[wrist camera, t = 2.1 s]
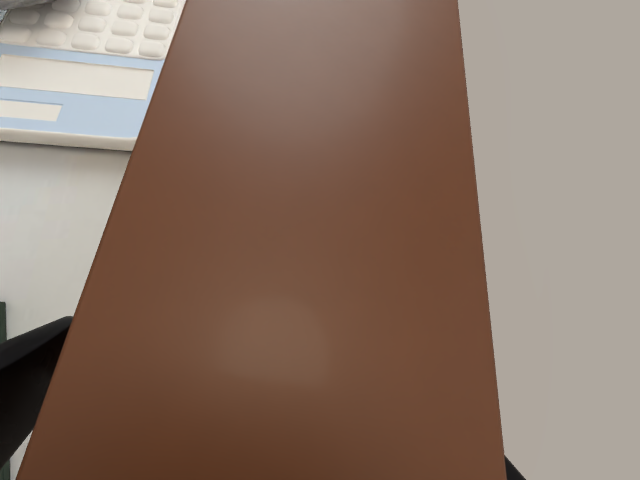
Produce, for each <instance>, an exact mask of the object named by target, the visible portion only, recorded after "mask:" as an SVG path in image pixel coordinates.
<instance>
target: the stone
mask: <svg viewBox="0 0 640 480" xmlns="http://www.w3.org/2000/svg"><path fill="white" fill-rule="evenodd" d="M54 1H56V0H0V10H6V9H13V8H19V7H26V6H31V5H35V4H45V3H51V2H54Z"/></svg>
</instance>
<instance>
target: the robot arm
mask: <svg viewBox="0 0 640 480" xmlns="http://www.w3.org/2000/svg"><path fill="white" fill-rule="evenodd" d="M72 319H73V316H66V317H63V318H61V319H58V320H56V321H53V322H51V323H48V324H46V325H44V326H41V327H39V328H36V329H34V330H31V331H29V332H26V333H24V334H22V335H19V336H17V337H14V338H12V339H9V340H7V341H4V342H2V343H0V470H1V469H2V467H3V466H4V465H5V464H6V462H7V461H8V460H9V459H10V457H11V456H12V455H13V454H14V452H15V451H16V450H17V449H18V447H19V446H20V445H21V444H22V442H23V441H24V440H25V439H26V437H27V436H28V435H29V434H30V432H31V431H32V430H33V429H34V426H35V423H36V421H37V418H38V415H39V412H40V409H41V407H42V404H43V401H44V398H45V395H46V393H47V390H48V387H49V384H50V381H51V379H52V376H53V373H54V370H55V367H56V364H57V362H58V359H59V356H60V353H61V350H62V348H63V345H64V342H65V339H66V336H67V334H68V331H69V328H70V325H71V322H72ZM504 458H505V467H506V477H507V480H526V479H525V478H524V477H523V476H522V475H521V473H520V472H519V471H518V470H517V469H516V468H515V467H514V465H512V463H511V462H510V461H509V460H508V459H507V457H506V456H505V455H504Z"/></svg>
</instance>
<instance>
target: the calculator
mask: <svg viewBox="0 0 640 480" xmlns="http://www.w3.org/2000/svg"><path fill="white" fill-rule="evenodd" d="M185 2H186V0H56V1H54V2H51V3H45V4H35V5H31V6H26V7H19V8H13V9H8V10H7V12H6V14H5V16H4V17H3V19H2V21H1V23H0V141H10V142H23V143H35V144H48V145H61V146H73V147H86V148H99V149H111V150H124V151H133V148H134V145H135V142H136V140H137V137H138V134H139V131H140V128H141V126H142V123H143V120H144V117H145V114H146V111H147V109H148V106H149V103H150V100H151V97H152V95H153V92H154V89H155V86H156V83H157V81H158V78H159V75H160V72H161V69H162V66H163V64H164V61H165V58H166V55H167V52H168V50H169V47H170V44H171V41H172V38H173V36H174V33H175V30H176V27H177V24H178V22H179V19H180V16H181V13H182V10H183V7H184V5H185Z"/></svg>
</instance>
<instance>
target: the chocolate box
mask: <svg viewBox="0 0 640 480" xmlns="http://www.w3.org/2000/svg"><path fill="white" fill-rule="evenodd" d="M16 480H507V477H506V467H505V458H504V448H503V439H502V428H501V419H500V409H499V399H498V389H497V380H496V370H495V360H494V350H493V342H492V331H491V321H490V312H489V302H488V292H487V282H486V272H485V263H484V253H483V244H482V233H481V224H480V214H479V204H478V195H477V185H476V175H475V165H474V156H473V146H472V136H471V127H470V117H469V107H468V97H467V87H466V78H465V68H464V58H463V48H462V39H461V29H460V19H459V9H458V0H186V2H185V5H184V7H183V10H182V13H181V16H180V19H179V22H178V24H177V27H176V30H175V33H174V36H173V38H172V41H171V44H170V47H169V50H168V52H167V55H166V58H165V61H164V64H163V66H162V69H161V72H160V75H159V78H158V81H157V83H156V86H155V89H154V92H153V95H152V97H151V100H150V103H149V106H148V109H147V111H146V114H145V117H144V120H143V123H142V126H141V128H140V131H139V134H138V137H137V140H136V142H135V145H134V148H133V151H132V154H131V156H130V159H129V162H128V165H127V168H126V170H125V173H124V176H123V179H122V182H121V185H120V187H119V190H118V193H117V196H116V199H115V201H114V204H113V207H112V210H111V213H110V215H109V218H108V221H107V224H106V227H105V230H104V232H103V235H102V238H101V241H100V244H99V246H98V249H97V252H96V255H95V258H94V260H93V263H92V266H91V269H90V272H89V275H88V277H87V280H86V283H85V286H84V289H83V291H82V294H81V297H80V300H79V303H78V305H77V308H76V311H75V314H74V317H73V319H72V322H71V325H70V328H69V331H68V334H67V336H66V339H65V342H64V345H63V348H62V350H61V353H60V356H59V359H58V362H57V364H56V367H55V370H54V373H53V376H52V379H51V381H50V384H49V387H48V390H47V393H46V395H45V398H44V401H43V404H42V407H41V409H40V412H39V415H38V418H37V421H36V423H35V426H34V429H33V432H32V435H31V438H30V440H29V443H28V446H27V449H26V452H25V454H24V457H23V460H22V463H21V466H20V468H19V471H18V474H17V477H16Z"/></svg>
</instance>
